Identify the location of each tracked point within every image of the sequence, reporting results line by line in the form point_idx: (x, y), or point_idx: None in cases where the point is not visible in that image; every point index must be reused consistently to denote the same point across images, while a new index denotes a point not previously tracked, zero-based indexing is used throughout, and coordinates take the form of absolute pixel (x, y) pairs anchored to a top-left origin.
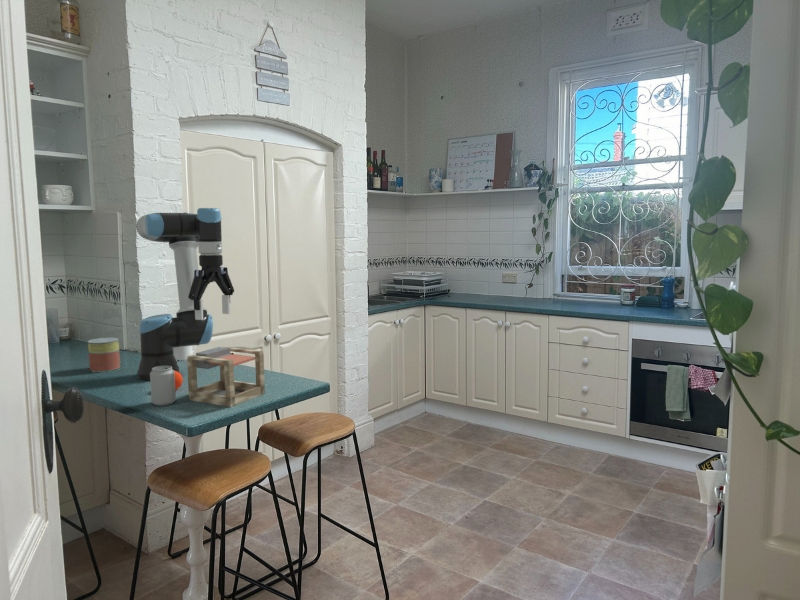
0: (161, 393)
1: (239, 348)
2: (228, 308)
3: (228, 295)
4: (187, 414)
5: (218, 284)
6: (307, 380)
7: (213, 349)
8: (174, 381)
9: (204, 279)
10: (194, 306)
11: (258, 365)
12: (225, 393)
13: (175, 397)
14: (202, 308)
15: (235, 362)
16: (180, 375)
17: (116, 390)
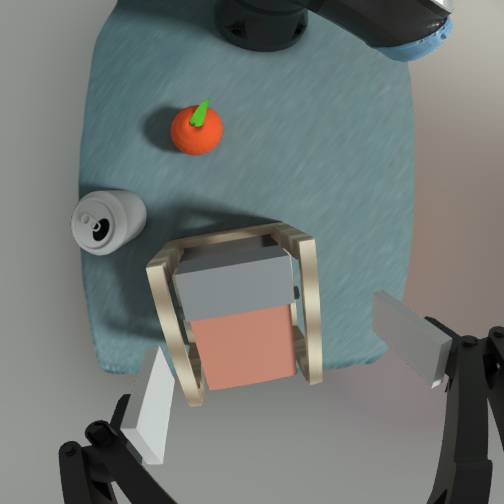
0: (100, 239)
1: (319, 310)
2: (389, 344)
3: (440, 380)
4: (119, 317)
5: (452, 441)
6: None
7: (248, 276)
8: (126, 241)
9: None
10: (117, 413)
11: (298, 361)
12: (189, 349)
13: (139, 233)
14: (164, 424)
15: (223, 384)
16: (208, 145)
17: (131, 50)
